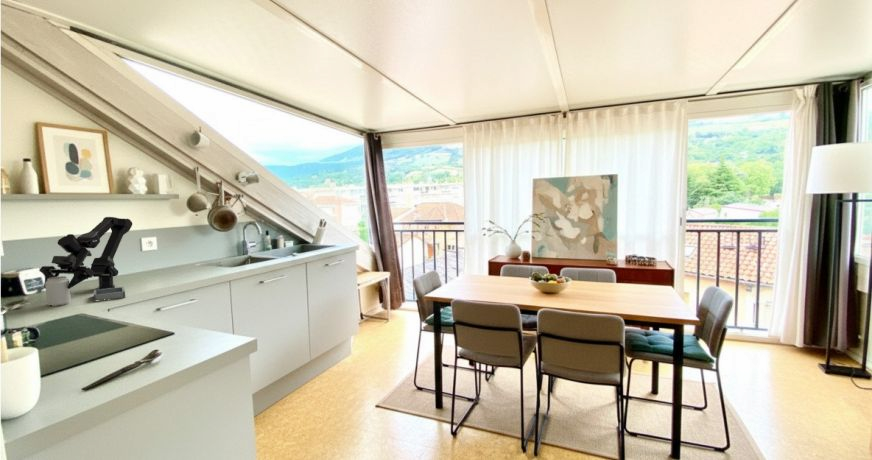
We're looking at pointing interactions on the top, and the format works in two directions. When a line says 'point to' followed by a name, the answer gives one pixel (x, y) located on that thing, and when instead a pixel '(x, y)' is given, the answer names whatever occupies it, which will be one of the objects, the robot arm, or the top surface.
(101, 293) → the tray
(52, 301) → the can
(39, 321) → the top surface
